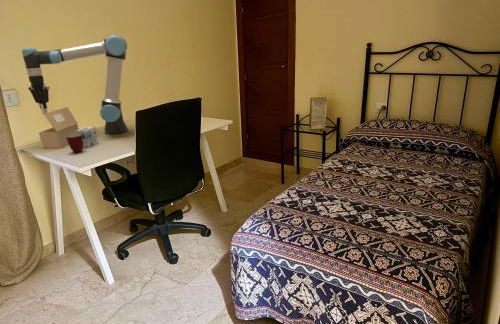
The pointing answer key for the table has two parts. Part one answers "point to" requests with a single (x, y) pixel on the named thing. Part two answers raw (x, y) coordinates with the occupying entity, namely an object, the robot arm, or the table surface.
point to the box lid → (61, 119)
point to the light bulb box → (88, 136)
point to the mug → (75, 142)
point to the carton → (56, 137)
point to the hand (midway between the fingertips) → (45, 113)
